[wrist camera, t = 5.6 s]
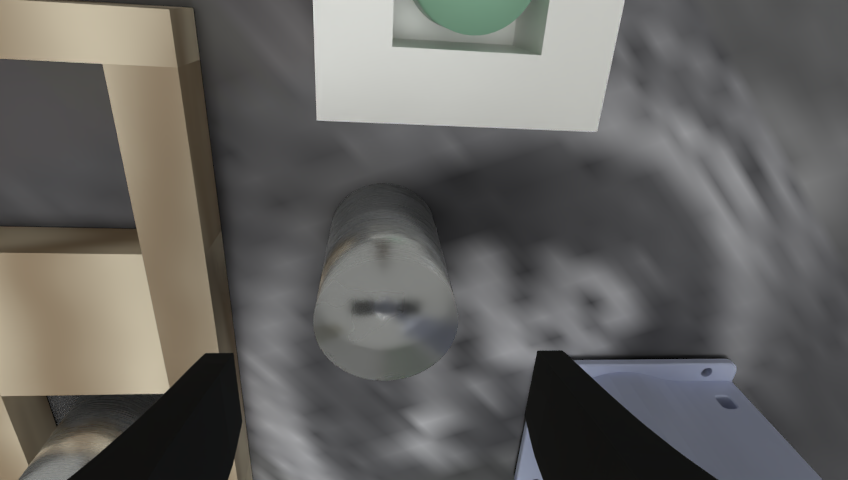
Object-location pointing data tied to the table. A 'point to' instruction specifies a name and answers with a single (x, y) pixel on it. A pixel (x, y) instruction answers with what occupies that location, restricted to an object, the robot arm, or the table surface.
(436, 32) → the button box
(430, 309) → the cylinder
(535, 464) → the robot arm
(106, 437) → the cylinder
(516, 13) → the button
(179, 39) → the board
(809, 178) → the table surface
